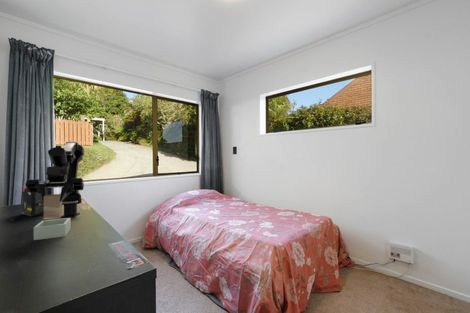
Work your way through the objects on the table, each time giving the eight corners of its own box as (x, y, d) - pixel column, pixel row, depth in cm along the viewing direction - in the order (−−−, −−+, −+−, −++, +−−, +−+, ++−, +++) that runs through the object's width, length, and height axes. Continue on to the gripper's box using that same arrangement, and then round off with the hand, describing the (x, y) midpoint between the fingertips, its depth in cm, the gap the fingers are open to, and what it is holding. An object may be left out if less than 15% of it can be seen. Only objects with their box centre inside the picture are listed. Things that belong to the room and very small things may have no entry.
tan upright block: (46, 216, 90) (47, 194, 90) (62, 215, 92) (62, 193, 92) (43, 219, 86) (43, 196, 86) (59, 217, 89) (59, 195, 89)
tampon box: (21, 214, 119) (21, 187, 119) (42, 210, 128) (42, 185, 128) (30, 216, 114) (30, 188, 114) (52, 212, 122) (52, 186, 122)
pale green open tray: (42, 232, 91) (42, 220, 91) (70, 229, 96) (70, 217, 96) (33, 240, 83) (33, 227, 83) (65, 236, 87) (65, 224, 87)
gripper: (27, 159, 89) (14, 191, 79) (82, 159, 97) (77, 188, 87) (34, 177, 96) (23, 208, 86) (85, 176, 104) (81, 203, 94)
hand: (52, 201), depth 88 cm, fingers closed on tan upright block, 5 cm apart
